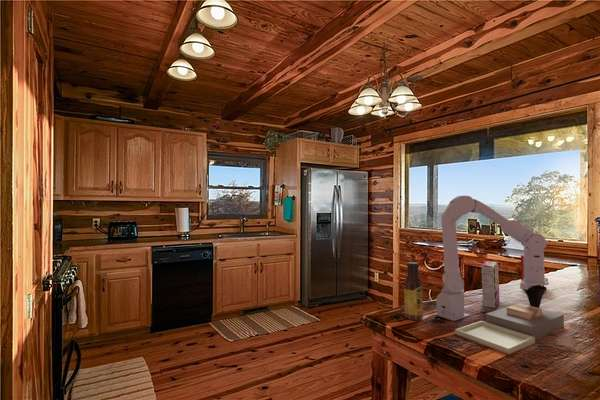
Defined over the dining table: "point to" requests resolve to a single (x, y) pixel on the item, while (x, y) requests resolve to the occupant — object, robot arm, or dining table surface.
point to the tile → (524, 311)
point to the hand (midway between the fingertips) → (534, 307)
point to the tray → (495, 337)
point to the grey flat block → (527, 322)
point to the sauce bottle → (413, 293)
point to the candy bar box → (490, 284)
